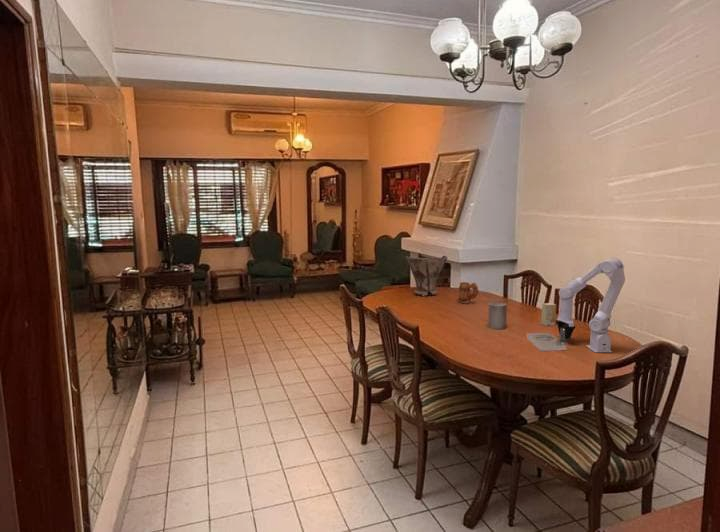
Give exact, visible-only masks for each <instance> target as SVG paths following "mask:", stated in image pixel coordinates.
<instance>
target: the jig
mask: <svg viewBox="0 0 720 532" xmlns="http://www.w3.org/2000/svg"><path fill="white" fill-rule="evenodd" d="M526 338H527V340H528V341H529V342H530V343H531V344H533V346H535V347H536V348H537V349H538V350H539V351H540V352H541V351H542V352H544V351H545V352H546V351H552V352H553V351H559V352H560V351H561V350H566V351H567V345H566V343H564V342H561V341H560V338H559V339H558V338H557V337H556V336H555V335H554V334H552V333H551V332H528V333H526Z"/></svg>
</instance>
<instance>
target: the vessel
mask: <svg viewBox="0 0 720 532" xmlns="http://www.w3.org/2000/svg"><path fill="white" fill-rule="evenodd" d="M405 260H406V261H407V263H408V265H409V267H410V271H411V273H412V275H413V278H414V281H415V282H414V283H415V289H414V291H413V294H414V295H416V294H417V296H420V295H424V296H425V297H427V296H429V295H430V296H431V295H433V296H437V295H438V291H437V290H436V284H437V282H438V279H439V276H440V274H441V272H442V270H443V268H444V266H445V264H446V262H447V260H448V256H447V255H442V257H413V256H412V257H411V256H405ZM428 294H429V295H428ZM436 294H437V295H436Z"/></svg>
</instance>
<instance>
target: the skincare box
mask: <svg viewBox="0 0 720 532" xmlns="http://www.w3.org/2000/svg"><path fill="white" fill-rule="evenodd" d="M556 311H557V304H556V303H553V302H546V303H542V307H541V319H540V320H541V322H540V324H541V325H543V326H545V327H546V326H548V325H549V326H555V325H556ZM549 326H548V327H549Z"/></svg>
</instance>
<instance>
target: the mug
mask: <svg viewBox="0 0 720 532" xmlns="http://www.w3.org/2000/svg"><path fill="white" fill-rule="evenodd" d="M458 290H459V296H458V301H459V303H460V304H463V303H465V304H470V303H471V300H473V299H476V298H477V296H478V293H479V287H478V285H477V284H476V282H471V283H469V282H465V281H464V282H463V281H462V282H460V283H459V287H458ZM471 290H472V292H471Z"/></svg>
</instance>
